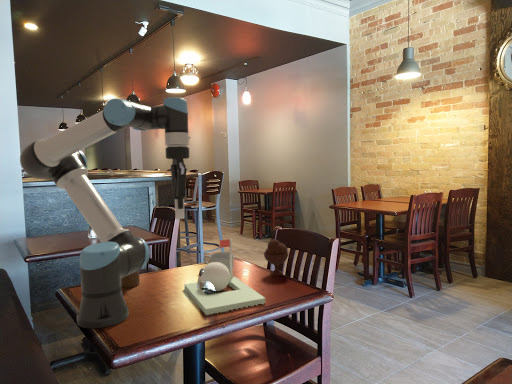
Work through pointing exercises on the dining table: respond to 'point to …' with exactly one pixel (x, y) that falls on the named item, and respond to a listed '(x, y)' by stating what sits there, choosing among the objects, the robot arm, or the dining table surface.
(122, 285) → the mug
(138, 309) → the dining table surface
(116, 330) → the dining table surface
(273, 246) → the ice cream bowl
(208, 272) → the ball
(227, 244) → the putting deck
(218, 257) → the teacup
